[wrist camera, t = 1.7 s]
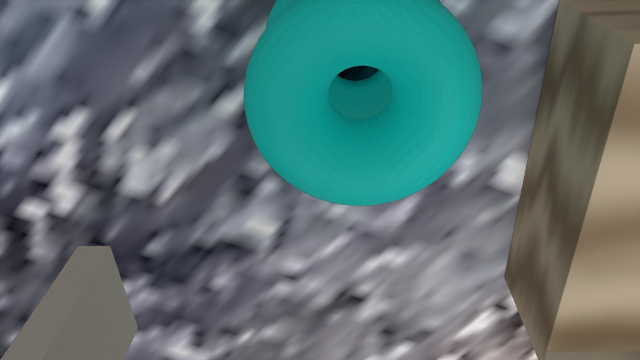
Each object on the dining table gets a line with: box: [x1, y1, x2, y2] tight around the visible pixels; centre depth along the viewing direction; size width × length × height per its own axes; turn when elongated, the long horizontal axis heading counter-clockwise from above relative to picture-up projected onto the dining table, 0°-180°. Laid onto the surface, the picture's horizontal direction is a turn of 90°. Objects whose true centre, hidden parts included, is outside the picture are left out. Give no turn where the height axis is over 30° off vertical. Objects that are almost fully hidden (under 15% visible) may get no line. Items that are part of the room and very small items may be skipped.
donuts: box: [244, 0, 482, 206], centre depth 24 cm, size 10×10×10 cm
